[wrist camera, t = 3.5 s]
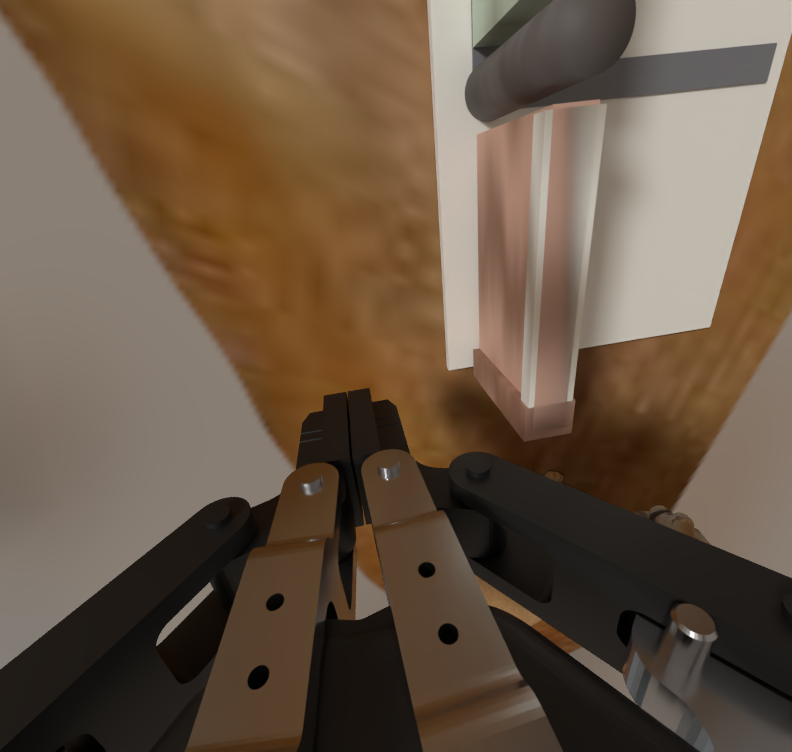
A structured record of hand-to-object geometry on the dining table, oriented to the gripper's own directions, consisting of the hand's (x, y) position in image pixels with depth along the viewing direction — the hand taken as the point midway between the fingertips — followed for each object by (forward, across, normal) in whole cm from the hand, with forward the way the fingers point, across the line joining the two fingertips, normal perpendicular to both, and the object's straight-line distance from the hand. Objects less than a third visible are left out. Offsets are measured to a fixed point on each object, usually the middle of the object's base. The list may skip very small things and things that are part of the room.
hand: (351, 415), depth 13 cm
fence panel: (+5, -7, -3) cm, 9 cm away
